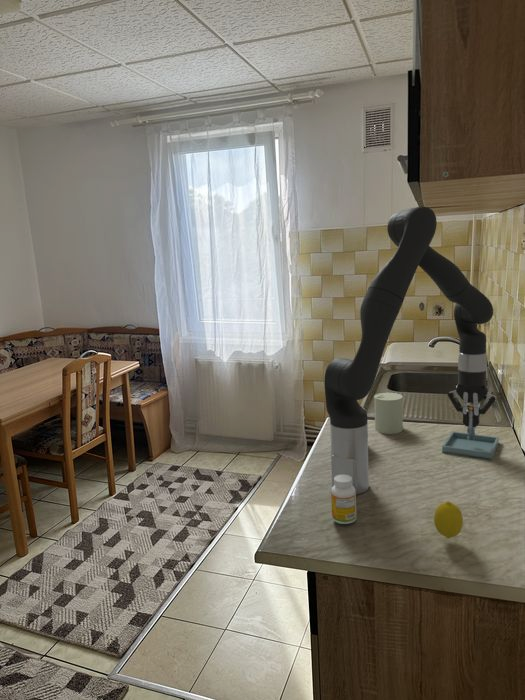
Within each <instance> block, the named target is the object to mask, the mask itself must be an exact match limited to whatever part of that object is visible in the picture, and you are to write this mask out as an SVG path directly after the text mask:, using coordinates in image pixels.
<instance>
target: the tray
mask: <svg viewBox="0 0 525 700" xmlns="http://www.w3.org/2000/svg"><path fill="white" fill-rule="evenodd" d="M499 440H500V437H497V436H490V435H483V434H475V440H468V439H467V432H460V431H459V432H458V431H451V433H450V434H449V436H448V437H447V438H446V440H445V441H444V443H443V445H442V447H441V448H442V449H441V450H442V451H441V452H442V453H443V454H450V455H456V456H463V457H468V458H475V459H481V460H482V459H483V460H487V461H488V460H489V461H492V460H493V458H494V455H495V454H496V451H497V448H498V446H499V444H500V443H499V442H500V441H499Z"/></svg>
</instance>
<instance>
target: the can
mask: <svg viewBox="0 0 525 700" xmlns="http://www.w3.org/2000/svg"><path fill="white" fill-rule="evenodd" d="M373 398H374V399H373V400H374V430H375V431H376V432H377V433H381V434H387V435H393V434H398V433H402V432H403V430H404V426H403V422H404V421H403V418H404V417H403V413H404V412H403V409H404V408H403V404H404V403H403V402H404V401H403V398H404V397H403V394H399V393H395V392H379V393H376V394H374V396H373Z"/></svg>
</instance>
